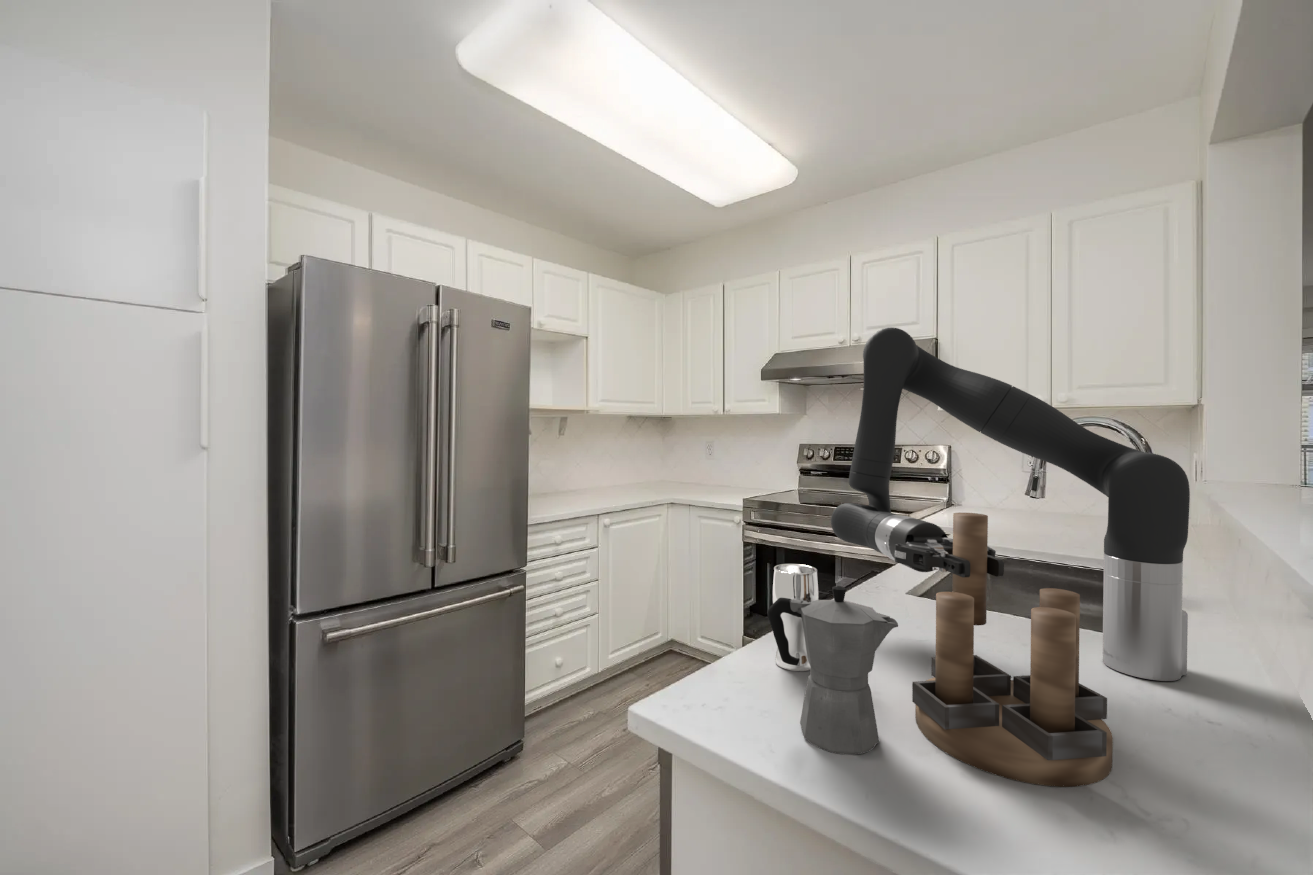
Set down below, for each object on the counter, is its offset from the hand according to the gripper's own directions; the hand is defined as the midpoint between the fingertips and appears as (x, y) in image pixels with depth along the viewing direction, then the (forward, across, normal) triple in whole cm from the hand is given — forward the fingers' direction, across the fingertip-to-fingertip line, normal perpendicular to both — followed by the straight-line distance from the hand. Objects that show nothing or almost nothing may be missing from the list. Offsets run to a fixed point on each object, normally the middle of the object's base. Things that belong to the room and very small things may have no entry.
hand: (984, 569), depth 72 cm
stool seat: (+4, 0, +19) cm, 19 cm away
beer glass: (-19, -18, +20) cm, 32 cm away
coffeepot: (+1, -21, +19) cm, 29 cm away
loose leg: (-3, 0, +8) cm, 8 cm away
